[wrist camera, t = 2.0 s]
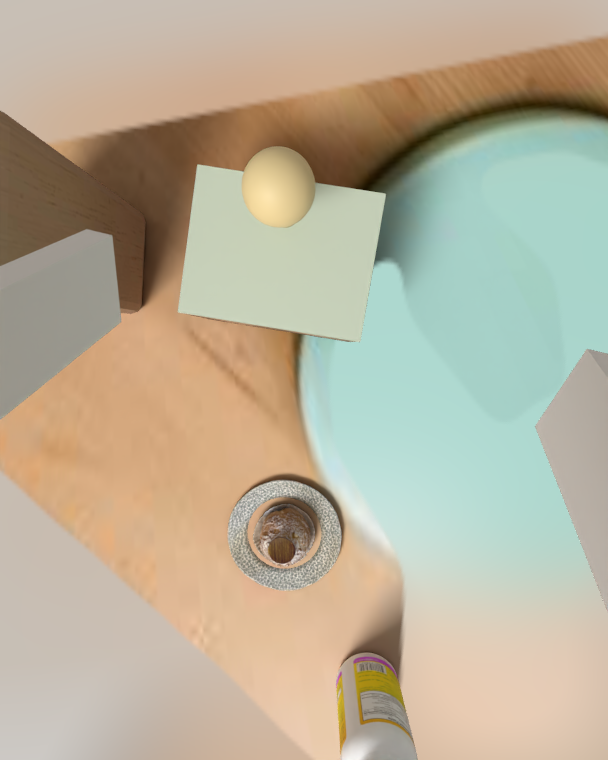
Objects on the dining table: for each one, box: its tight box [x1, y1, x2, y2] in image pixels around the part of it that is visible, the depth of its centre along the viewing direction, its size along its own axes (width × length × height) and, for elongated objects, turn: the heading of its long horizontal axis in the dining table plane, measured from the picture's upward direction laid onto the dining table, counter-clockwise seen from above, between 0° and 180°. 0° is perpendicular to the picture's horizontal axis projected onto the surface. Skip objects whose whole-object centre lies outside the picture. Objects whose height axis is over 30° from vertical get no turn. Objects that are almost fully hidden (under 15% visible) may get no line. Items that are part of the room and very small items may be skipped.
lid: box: [178, 146, 386, 342], centre depth 28 cm, size 14×11×9 cm
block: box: [0, 111, 146, 314], centre depth 32 cm, size 10×10×20 cm
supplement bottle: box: [336, 653, 418, 760], centre depth 39 cm, size 7×7×13 cm
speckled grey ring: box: [228, 480, 342, 591], centre depth 42 cm, size 12×12×5 cm
